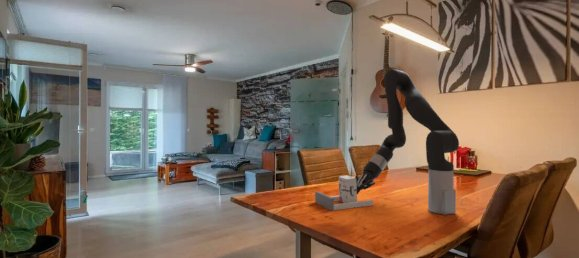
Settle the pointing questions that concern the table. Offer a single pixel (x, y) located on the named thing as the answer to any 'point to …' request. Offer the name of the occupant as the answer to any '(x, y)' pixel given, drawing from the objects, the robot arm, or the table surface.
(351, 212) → the table surface
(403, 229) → the table surface
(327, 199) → the bay
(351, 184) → the ink box
